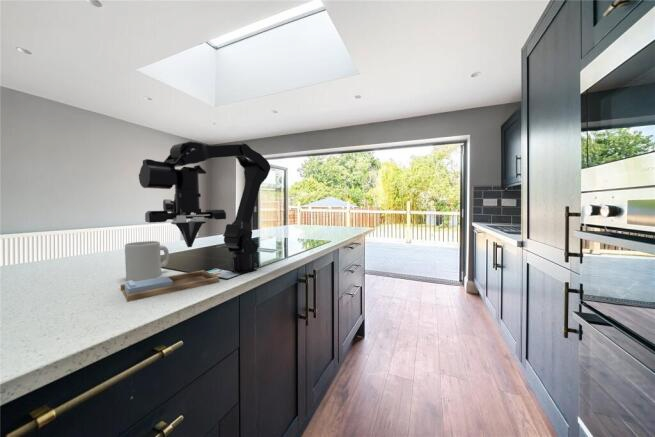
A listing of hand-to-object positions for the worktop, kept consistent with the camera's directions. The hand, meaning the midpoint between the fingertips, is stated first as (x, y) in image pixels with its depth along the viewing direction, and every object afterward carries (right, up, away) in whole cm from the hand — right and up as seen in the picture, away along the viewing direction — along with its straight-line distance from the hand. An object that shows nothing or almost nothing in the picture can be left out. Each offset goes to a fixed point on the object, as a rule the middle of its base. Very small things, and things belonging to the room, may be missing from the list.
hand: (189, 247), depth 71 cm
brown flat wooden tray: (-3, -11, -3) cm, 11 cm away
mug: (-16, -11, +7) cm, 20 cm away
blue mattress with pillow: (-7, -10, -6) cm, 14 cm away
